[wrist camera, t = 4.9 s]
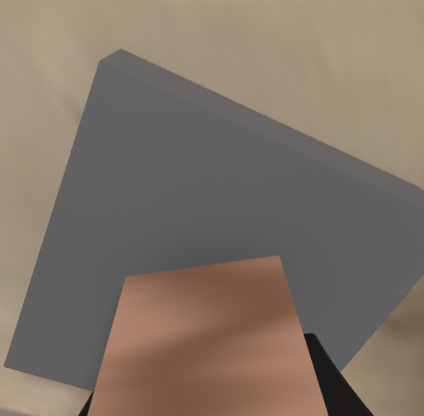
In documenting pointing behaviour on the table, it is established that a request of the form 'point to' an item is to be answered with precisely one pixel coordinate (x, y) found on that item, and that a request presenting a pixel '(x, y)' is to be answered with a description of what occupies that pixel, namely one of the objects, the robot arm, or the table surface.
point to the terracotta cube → (208, 346)
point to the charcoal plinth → (209, 219)
